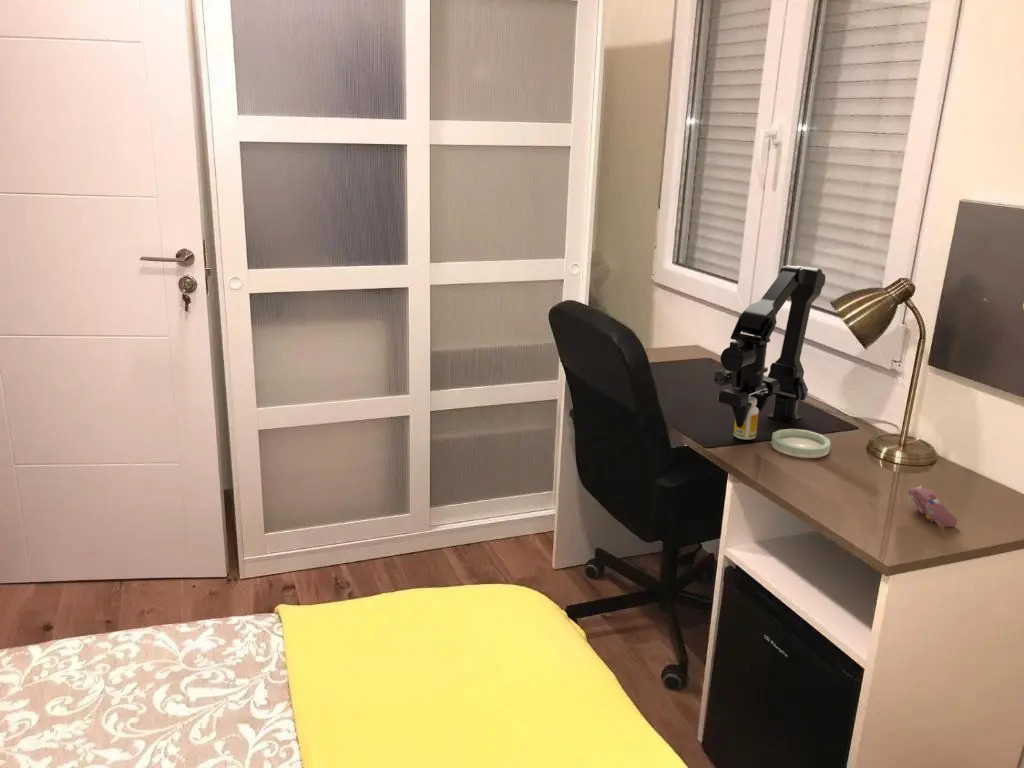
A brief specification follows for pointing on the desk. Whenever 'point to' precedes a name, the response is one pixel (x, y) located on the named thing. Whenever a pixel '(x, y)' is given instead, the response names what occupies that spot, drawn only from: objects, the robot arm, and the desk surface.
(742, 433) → the supplement bottle
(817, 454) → the round dish
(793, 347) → the robot arm
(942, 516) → the video game controller
